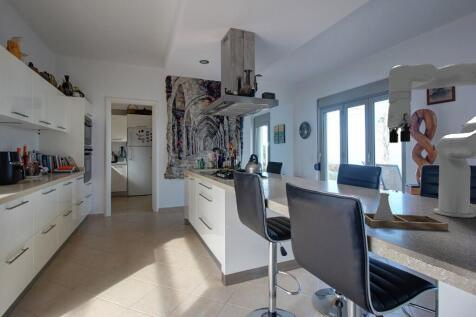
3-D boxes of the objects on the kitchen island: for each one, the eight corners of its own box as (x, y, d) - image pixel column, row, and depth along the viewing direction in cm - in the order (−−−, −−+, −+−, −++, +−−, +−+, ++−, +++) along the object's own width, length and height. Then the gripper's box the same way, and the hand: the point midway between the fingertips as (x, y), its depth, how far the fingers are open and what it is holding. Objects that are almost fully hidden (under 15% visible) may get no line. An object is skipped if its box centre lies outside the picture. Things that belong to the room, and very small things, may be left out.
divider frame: (427, 220, 93) (427, 215, 93) (448, 230, 81) (448, 223, 81) (360, 218, 96) (360, 212, 96) (371, 226, 85) (371, 220, 85)
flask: (399, 225, 85) (400, 195, 85) (375, 224, 87) (376, 194, 87) (391, 220, 92) (392, 192, 92) (369, 219, 94) (369, 191, 94)
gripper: (380, 103, 111) (380, 143, 111) (399, 93, 94) (398, 141, 94) (399, 102, 110) (399, 143, 110) (422, 93, 93) (421, 141, 93)
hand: (399, 142), depth 102 cm, fingers open, 9 cm apart
